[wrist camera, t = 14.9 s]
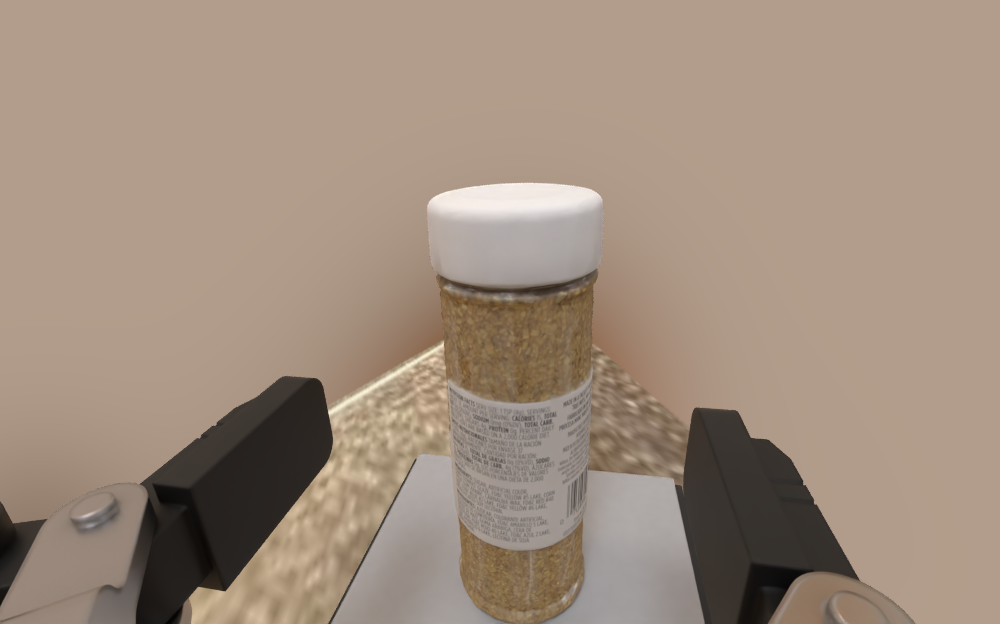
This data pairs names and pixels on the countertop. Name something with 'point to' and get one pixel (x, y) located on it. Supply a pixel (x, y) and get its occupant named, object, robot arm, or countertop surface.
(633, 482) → the kitchen scale
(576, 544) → the sprinkles bottle
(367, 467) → the countertop surface
